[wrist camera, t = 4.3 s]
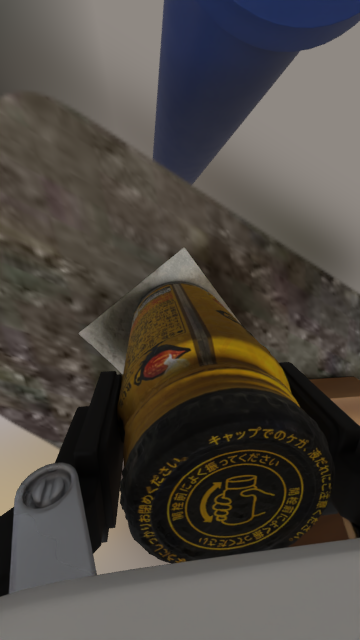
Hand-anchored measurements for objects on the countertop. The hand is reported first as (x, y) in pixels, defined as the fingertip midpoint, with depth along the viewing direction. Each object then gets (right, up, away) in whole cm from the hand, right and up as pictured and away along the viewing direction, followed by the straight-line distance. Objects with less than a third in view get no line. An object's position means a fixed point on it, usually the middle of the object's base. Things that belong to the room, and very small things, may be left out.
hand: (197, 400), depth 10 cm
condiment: (-2, +3, +7) cm, 8 cm away
